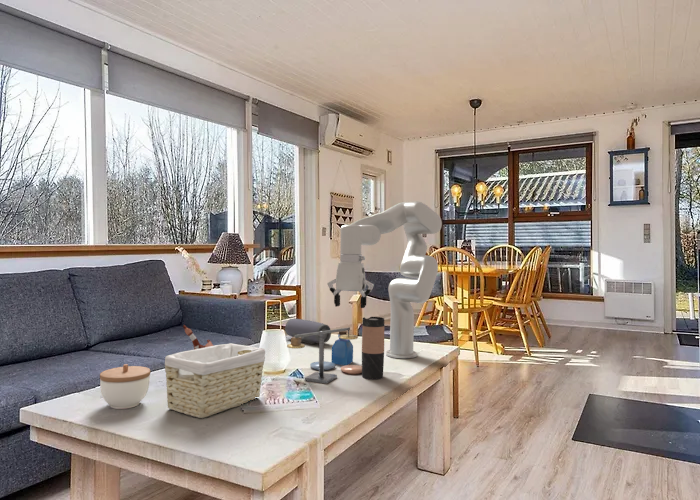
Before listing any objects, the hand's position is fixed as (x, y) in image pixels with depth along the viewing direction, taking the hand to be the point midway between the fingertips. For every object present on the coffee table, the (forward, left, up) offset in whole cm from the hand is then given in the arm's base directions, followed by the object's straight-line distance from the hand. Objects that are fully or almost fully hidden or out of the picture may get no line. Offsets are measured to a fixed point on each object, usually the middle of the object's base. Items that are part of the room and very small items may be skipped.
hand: (350, 306), depth 175 cm
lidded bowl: (+61, -41, -23) cm, 78 cm away
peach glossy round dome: (+1, +2, -23) cm, 23 cm away
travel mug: (+5, +11, -23) cm, 26 cm away
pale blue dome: (+1, -10, -23) cm, 25 cm away
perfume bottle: (-9, -6, -23) cm, 25 cm away
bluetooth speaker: (-38, -36, -23) cm, 57 cm away
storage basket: (+51, -19, -23) cm, 59 cm away
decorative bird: (+29, -41, -23) cm, 56 cm away
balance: (+15, -4, -23) cm, 28 cm away
